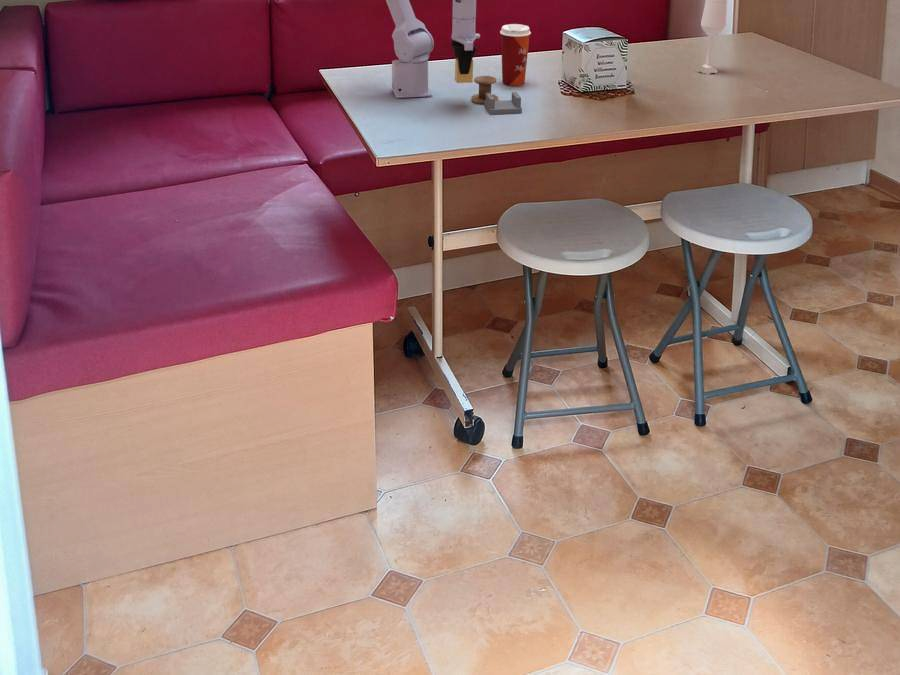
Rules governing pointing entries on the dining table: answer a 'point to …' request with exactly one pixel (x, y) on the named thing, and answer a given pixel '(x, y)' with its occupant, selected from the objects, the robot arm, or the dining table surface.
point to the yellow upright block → (463, 77)
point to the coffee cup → (514, 53)
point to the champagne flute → (713, 22)
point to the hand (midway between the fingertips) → (463, 71)
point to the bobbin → (483, 89)
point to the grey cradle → (503, 105)
